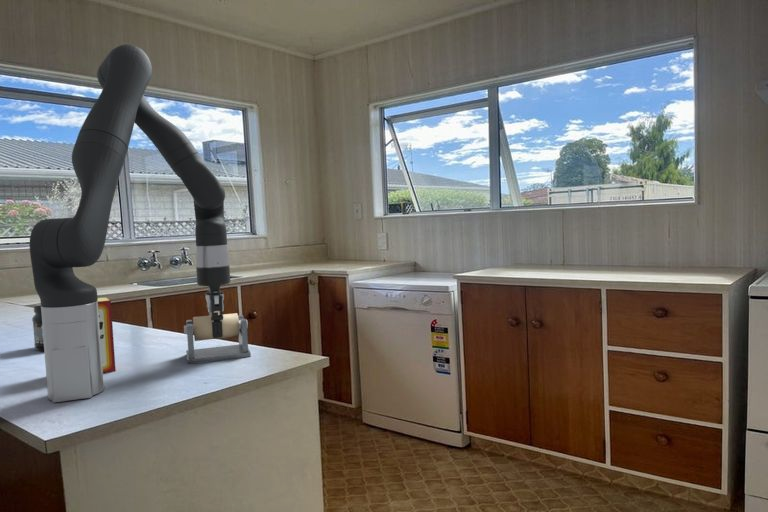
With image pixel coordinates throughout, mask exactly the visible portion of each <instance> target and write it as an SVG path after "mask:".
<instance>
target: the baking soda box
mask: <svg viewBox="0 0 768 512" xmlns="http://www.w3.org/2000/svg"><path fill="white" fill-rule="evenodd" d="M97 298H98V313H99V328H100V342H101V356H102V369H103V374H106V372H108V373H113V372H112V371H114V372H116V371H117V370H116V359H115V358H116V356H115V343H114V341H115V340H114V329H113V316H112V314H113V313H112V312H113V311H112V302H111V299H110V297H108V296H107V297H97Z"/></svg>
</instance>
